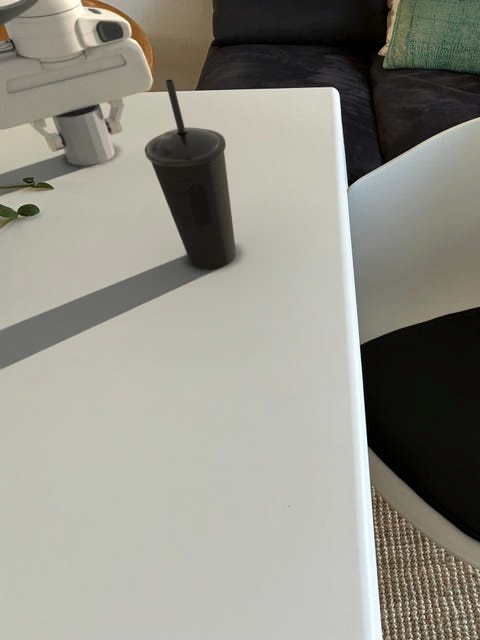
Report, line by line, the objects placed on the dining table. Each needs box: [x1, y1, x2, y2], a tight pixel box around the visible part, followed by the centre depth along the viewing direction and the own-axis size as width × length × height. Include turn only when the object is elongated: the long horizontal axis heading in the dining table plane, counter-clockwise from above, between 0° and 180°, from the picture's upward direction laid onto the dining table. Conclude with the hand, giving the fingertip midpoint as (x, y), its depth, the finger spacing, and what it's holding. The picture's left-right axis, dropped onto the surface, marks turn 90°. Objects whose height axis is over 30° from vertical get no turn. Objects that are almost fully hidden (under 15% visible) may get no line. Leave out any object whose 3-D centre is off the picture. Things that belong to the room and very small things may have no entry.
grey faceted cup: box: [51, 104, 116, 167], centre depth 102 cm, size 6×6×7 cm
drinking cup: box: [144, 78, 237, 271], centre depth 79 cm, size 8×8×20 cm
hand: (86, 140), depth 102 cm, fingers open, 6 cm apart
